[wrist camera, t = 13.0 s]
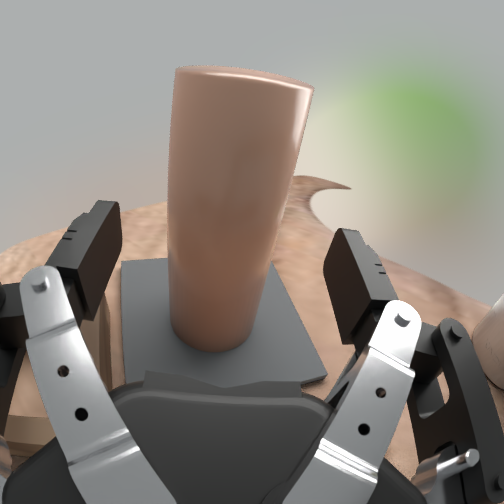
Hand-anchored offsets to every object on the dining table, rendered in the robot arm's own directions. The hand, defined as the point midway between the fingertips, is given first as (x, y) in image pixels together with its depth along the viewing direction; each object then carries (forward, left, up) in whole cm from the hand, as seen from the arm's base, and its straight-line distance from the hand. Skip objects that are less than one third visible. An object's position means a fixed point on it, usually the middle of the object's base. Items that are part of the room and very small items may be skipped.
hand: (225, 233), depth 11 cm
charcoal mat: (-1, -5, -12) cm, 13 cm away
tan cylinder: (-2, -6, -11) cm, 12 cm away
